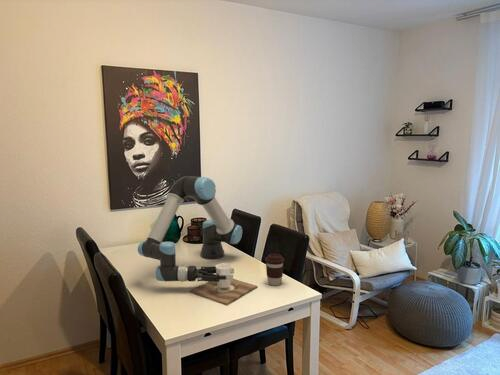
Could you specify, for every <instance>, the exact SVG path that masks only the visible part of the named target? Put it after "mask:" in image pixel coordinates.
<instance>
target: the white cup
mask: <svg viewBox="0 0 500 375" xmlns="http://www.w3.org/2000/svg"><path fill="white" fill-rule="evenodd" d="M215 266H216V273H215V274H217V275H219V276H220V274H231V269H232V268H233V266H232V265H231V264H230V263H226V262H225V263H224V262H223V263H218V264H216V265H215ZM230 285H231V280H219V282H217V286H218V287H220V288H227V287H229V286H230Z"/></svg>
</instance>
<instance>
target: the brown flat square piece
mask: <svg viewBox="0 0 500 375" xmlns="http://www.w3.org/2000/svg"><path fill="white" fill-rule="evenodd" d="M256 289H258V285H257V284H256V285H255V284H252V283H248V282H247V281H246V282H245V281H242V280H239V279H236V278H233V280H231V285H230V286H229V287H227V288H220V287H218V286H217V282H209V281H205V283H202V284H201V285H198V286H196V287H194V288H192V289H190V290H189V293H191V294H193V295H196V296H198V297H202V298H203V299H204V298H205V299H208V300H210V301H212V302H216V303H219V304H222V305H225V306H229V305H231V304H232V303H234V302H236V301H238V300H240V299H241V298H243V297H244V296H246V295H247V294H249V293H251V292H253V291H254V290H256Z"/></svg>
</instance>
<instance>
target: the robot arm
mask: <svg viewBox="0 0 500 375" xmlns="http://www.w3.org/2000/svg"><path fill="white" fill-rule="evenodd" d="M216 188H217V187H216V184H215V182H214V181H213V179H212V178H209V177H205V176H190V175H186V176H182V177H180V178H179V179H177V180H176V181H175V182H174V183H173V184H172V186H171V187H170V189H169V190H168V192H167V194H166V196H167V198H166V199H165V203H164V205H163V206H162V208H161V210H160V212H159V214H158V216H157V218H156V220H155V222H154V224H153V226H152V228H151V229H150V232H149V234H148V236H147V238H146V240H144V241H141V242H140V243H139V244H138V246H137V252H138V254H139V255H140V256H142V257H145V258H148V259H149V258H150V259H152V260H153V259H154V260H157V261H159V262H160V263H159V264H160V265H158V266H157V267H156V269H155V278H156V281H159V282H180V283H181V282H182V283H183V282H195V281H196V280H197V282H219V280H233V279H234V275H235V268H234V267H232V269H231V274H220V276H219V275H217V274H216V265H215V266H214V265H213V266H211V265H210V266H203V265H202V266H201V267H200V268H197V266H196V265H177V262H176V260H177V258H176V257H177V256H176V254H177V251H176V246H175V245H176V244H175V242H173V241H163V240H164V237H165V236H166V234H167V232H168V230H169V228H170V225H171V223H172V222H173V219H174V217H175V215H176V213H177V212H178V210H179V207H180V205H181V204H182V203H184V202H185V199H186V198H190V199H193V200H194V201H195V203H196V204H198V205H199V206H201V207H203V209H204V210H205V212H206V213H207V215H208V217H209V218H210V219H208V220H205V221H203V222H202V228H201V229H202V246H201V251H200V257H201V258H202V259H206V260H216V259H217V260H218V259H221V258H223V257H224V256H225V250H224V248H223V244H222V243H226V244H231V245H237V244H239V242H240V241H241V239H242V236H243V228H242V226H241V225H239V224H236V223H235V222H234V220H233V219H232V218H229V217H228V215H227V213H226V212H225V211H224V209H223V208H222V206H221V205H220V203H219V201H218V200H217V198H216V192H217V189H216Z"/></svg>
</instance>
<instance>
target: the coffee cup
mask: <svg viewBox="0 0 500 375" xmlns="http://www.w3.org/2000/svg"><path fill="white" fill-rule="evenodd" d="M264 262H265V267H266V276H267V277H266V278H267V279H266V280H267V284H268V285H270V286H275V287H277V286H280V285H281V284H282V282H283V276H284V263H285V258H284V257H283V256H282V255H281V254H279V253H270V254H268V255H267V256H266V257H265V258H264Z"/></svg>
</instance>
